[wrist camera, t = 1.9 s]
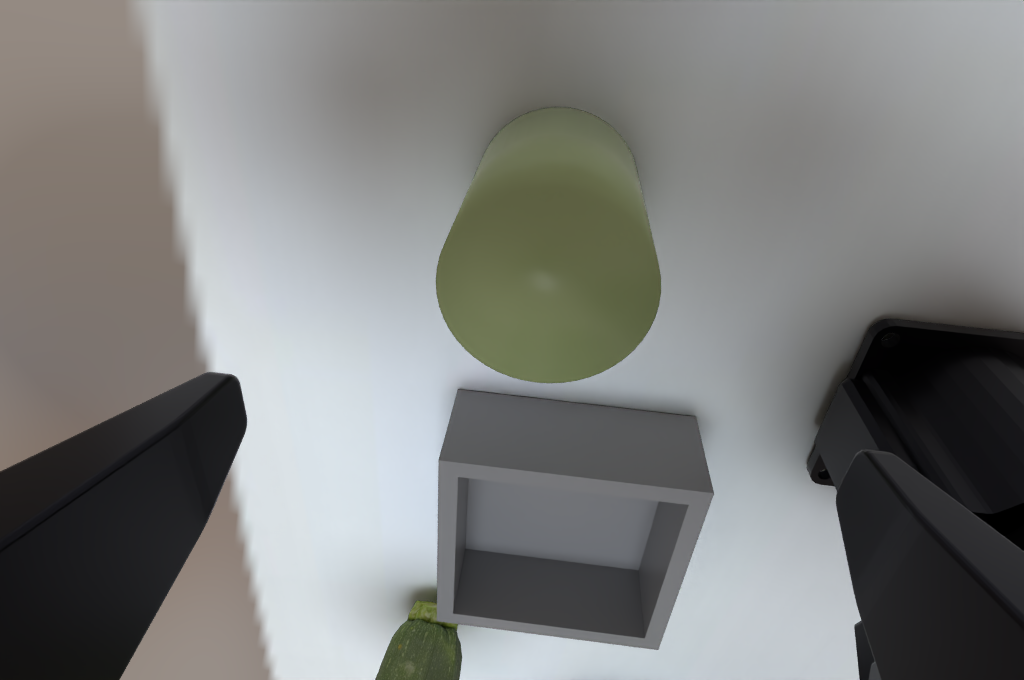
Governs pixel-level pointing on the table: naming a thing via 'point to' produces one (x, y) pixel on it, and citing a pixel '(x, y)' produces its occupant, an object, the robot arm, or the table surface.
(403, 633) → the vegetable
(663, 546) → the bin
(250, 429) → the table surface
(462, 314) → the olive cylinder
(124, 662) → the robot arm
